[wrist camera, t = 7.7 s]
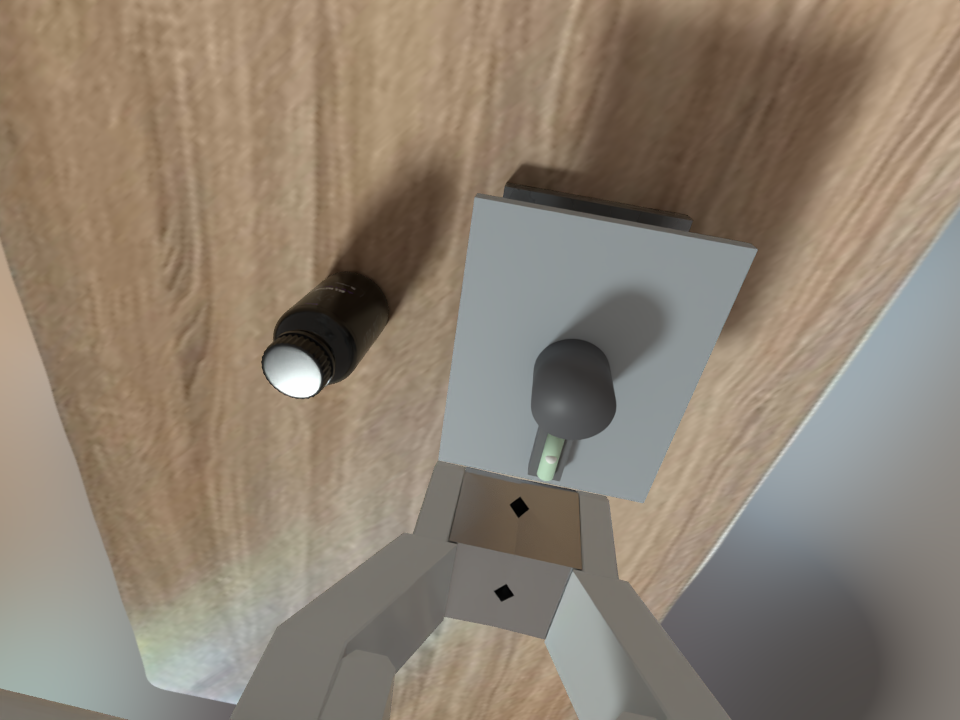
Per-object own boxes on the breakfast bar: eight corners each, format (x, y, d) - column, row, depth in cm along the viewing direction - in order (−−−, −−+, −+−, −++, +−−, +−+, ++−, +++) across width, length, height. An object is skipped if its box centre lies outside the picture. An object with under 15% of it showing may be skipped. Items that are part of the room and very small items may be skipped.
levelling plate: (479, 191, 29) (463, 213, 24) (746, 240, 29) (787, 273, 24) (442, 445, 39) (426, 497, 34) (640, 486, 39) (652, 546, 34)
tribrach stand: (506, 182, 38) (493, 209, 30) (687, 215, 37) (721, 252, 29) (474, 375, 47) (457, 434, 39) (618, 404, 46) (630, 470, 39)
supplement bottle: (353, 254, 42) (287, 310, 32) (405, 312, 45) (359, 383, 34) (303, 296, 45) (228, 361, 35) (355, 350, 47) (299, 425, 37)
